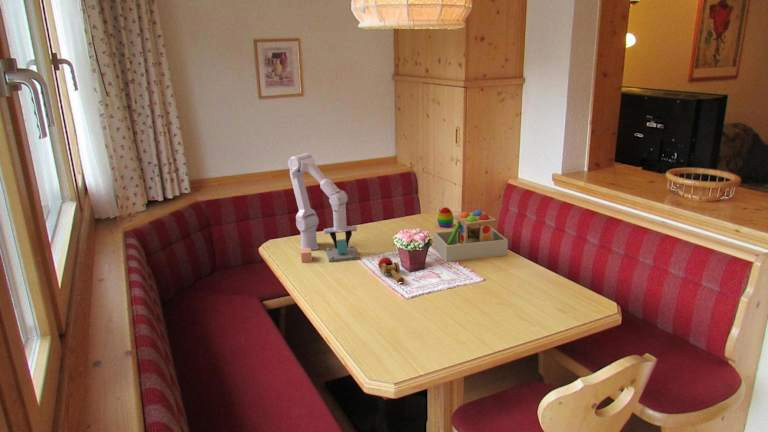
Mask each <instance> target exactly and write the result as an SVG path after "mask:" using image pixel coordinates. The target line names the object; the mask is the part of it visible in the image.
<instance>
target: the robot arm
mask: <svg viewBox="0 0 768 432" xmlns="http://www.w3.org/2000/svg"><path fill="white" fill-rule="evenodd" d="M315 161H316V159H315V158H314V157H313V156H312V154H310V153H308V152H306V153H302V154H299V155H295V156H294V155H293V156H291V157H290V158H289V159H288V161H287V163H288V164H287V165H288V168H289V176H290V180H291V183H292V187H293V193H294V196H295V200H296V204H297V208H298V212H297V213H296V215H295V225H296V228H297V229H298V230H299V232H300V249H302V248H310V249H311V251H313V250H315V251H316V250H319V249H320V248H319V245H318V239H317V228H318V226H319V222H320V219H319V216H318V215H317V213H316V211H315V209H312V208H311V204H310V200H309V195H308V192H307V187H306V183H305V179H304V174H305V172H307V173H309V174H310V175H311V177H313V178H314V179H315V180H316V181H317V182H318V183H319V184H320V185H319V186H320V188H319V189H321V190H322V191H323V193H324V194H325V195H326V196H327V197H328V198H329V199H328V200H329V203H330V206H331V209H332V218H333V220H332V221H333V227H328V228H324V229H323V234H324V235H330V238H331V239H332V243H333V244H334V245H333V246H334V248H335V249H337V243H336V240H337V235H336V234H337V233H345V240H346V242H347V248H348V246H349V245H350V244H349V243H350V240H351V237H352V235H353V233H352V232H358V227H357V226H356V225H352V226H351V225H347V224H348V223H347V209H346V207H347V206H346V204H347V203H348V201H349V197H348V194H347V192H346V191H344V190H342V189H341V188H339V187H337V185H336V184H335V183H334V181H333V180H332V179H330V178H326V177H325V175H324V174H323V172H322V171H321V170H320V167H318V165H317V164H316V163H315Z"/></svg>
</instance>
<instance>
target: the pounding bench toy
mask: <svg viewBox="0 0 768 432" xmlns="http://www.w3.org/2000/svg"><path fill="white" fill-rule="evenodd" d="M453 218H454V220H456V225H455V227H454V229H453V230H454V231H453V230H452V231H453V233H452V235H451V237H450V239H449V241H448V243H447V245H451V244H452V242H453V240H454V238H455V236H456V234H457V244H466V243H475V242H485V241H491V240H493V239H494V238H493V237H492V228H493V227H492V226H493V224H496V223H497V218H494V217H493V216H490V215H489V214H487V213H485V212H484V211H482V210H481V209H476V210H474V211H473V212H468V211H463V212H461V213H458V214H453ZM469 232H471V233H472V234H473V235H471V236H469ZM454 245H456V244H454Z"/></svg>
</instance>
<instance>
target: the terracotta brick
mask: <svg viewBox="0 0 768 432" xmlns="http://www.w3.org/2000/svg"><path fill="white" fill-rule="evenodd" d="M299 250H300V260H301V263H302V264H303V263H312V262H313V258H312V257H313V256H312V250H311V249H310V248H302V249H301V248H300V249H299Z"/></svg>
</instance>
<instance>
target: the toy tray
mask: <svg viewBox="0 0 768 432" xmlns="http://www.w3.org/2000/svg"><path fill="white" fill-rule="evenodd" d="M453 231H454V229H453V230H447V231H446V230H445V231H444V230H443V231H436V232H433V248H434V249H435V250H436V251H437V253H438V254H439V255H440V256H441V257H442V258H443V260H445V262H448V263H449V262H455V261H457V262H458V261H465V260H474V259H482V258H491V257H493V258H494V257H500V256H502V257H503V256H507V255H508V248H509V247H508V245H509V244H508V243H509V240H508V239H507V238H506V237H505V236H504V235H502V234H501V233H500V232H499V231H497V230H496V229H495V228H493V227H492V237H493V238H494V239H493V240H491V241H485V242H475V243H466V244H457V234H456V236H455V238H454V240H453V242H452V244H451V245H447V243H448V241H449V239H450V237H451V235H452V233H453ZM471 235H473V234H472V233H471V232H469V236H471ZM454 244H456V245H454Z"/></svg>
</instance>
